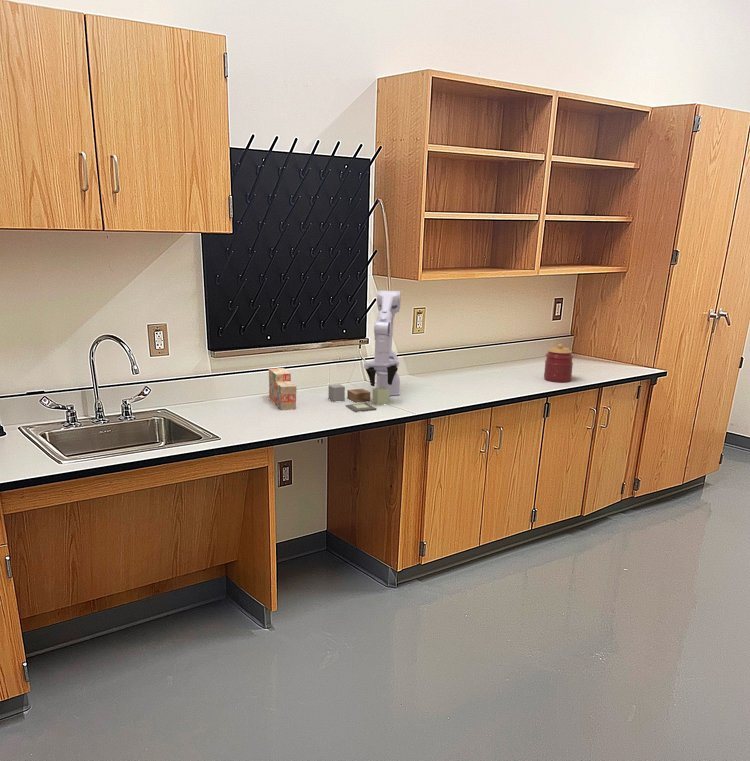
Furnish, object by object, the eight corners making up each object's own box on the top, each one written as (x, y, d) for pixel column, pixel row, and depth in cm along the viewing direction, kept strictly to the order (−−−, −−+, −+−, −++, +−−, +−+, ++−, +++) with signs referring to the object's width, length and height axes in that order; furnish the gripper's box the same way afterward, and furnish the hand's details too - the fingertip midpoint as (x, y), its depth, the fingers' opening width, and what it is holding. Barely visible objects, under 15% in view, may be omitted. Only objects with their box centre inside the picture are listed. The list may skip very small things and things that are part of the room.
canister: (559, 376, 333) (562, 340, 329) (577, 381, 322) (580, 345, 318) (537, 377, 328) (540, 341, 324) (555, 383, 316) (558, 346, 312)
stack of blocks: (296, 409, 262) (296, 378, 259) (280, 410, 259) (280, 379, 257) (283, 396, 281) (283, 367, 278) (268, 397, 279) (268, 367, 276)
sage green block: (383, 401, 276) (383, 387, 275) (389, 404, 272) (389, 390, 270) (372, 402, 274) (372, 388, 273) (377, 405, 270) (378, 391, 268)
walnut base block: (362, 397, 282) (362, 388, 281) (370, 401, 276) (370, 392, 275) (347, 399, 279) (347, 390, 278) (354, 403, 273) (354, 393, 272)
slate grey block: (339, 398, 280) (339, 384, 278) (344, 401, 275) (344, 386, 274) (328, 399, 277) (328, 385, 276) (333, 402, 273) (333, 387, 272)
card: (366, 404, 271) (366, 402, 270) (376, 409, 263) (376, 407, 263) (345, 406, 267) (345, 404, 267) (355, 412, 259) (355, 409, 259)
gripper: (370, 354, 261) (369, 388, 264) (403, 352, 268) (401, 385, 271) (362, 351, 268) (361, 384, 271) (394, 349, 274) (393, 382, 277)
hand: (381, 385), depth 271 cm, fingers open, 7 cm apart
